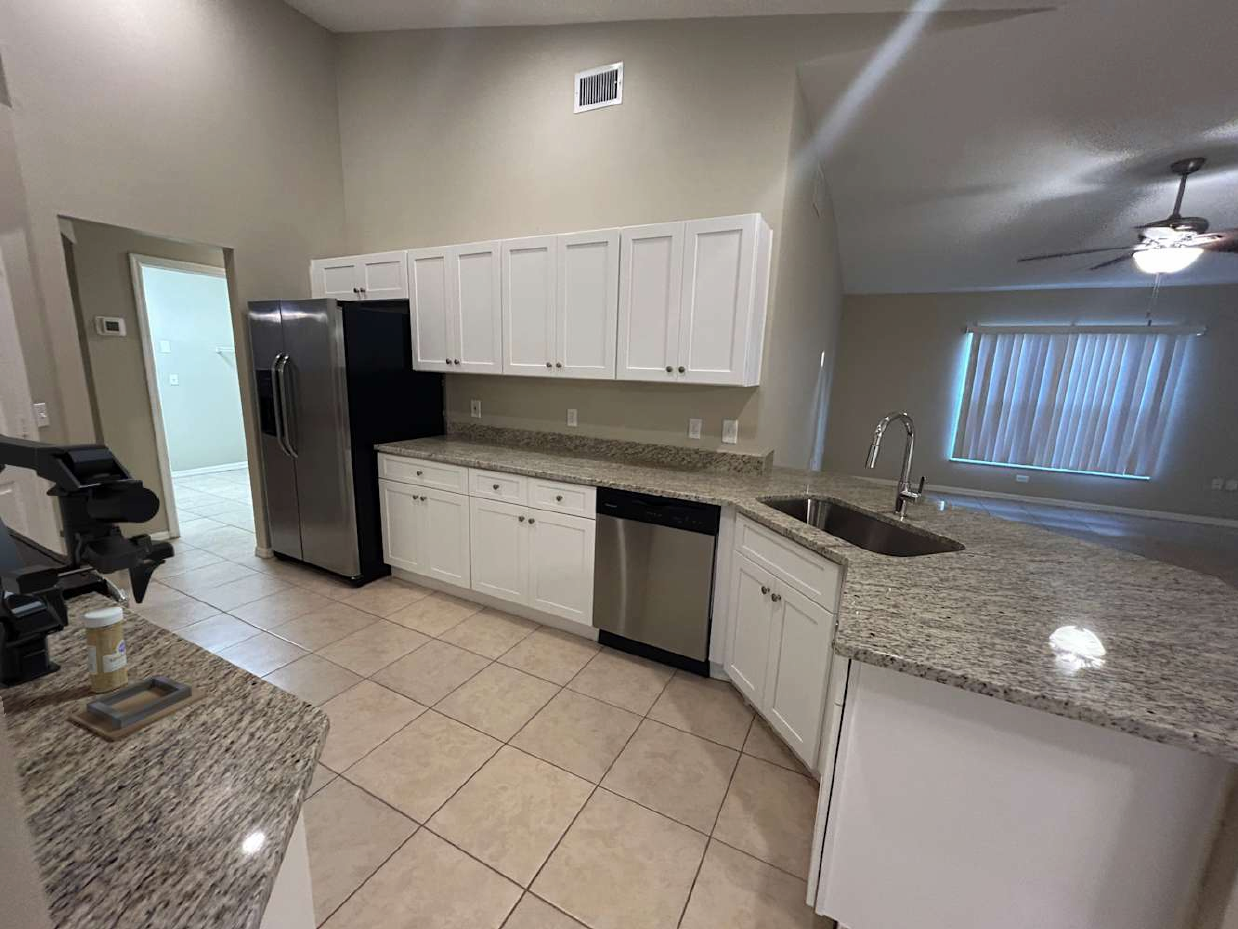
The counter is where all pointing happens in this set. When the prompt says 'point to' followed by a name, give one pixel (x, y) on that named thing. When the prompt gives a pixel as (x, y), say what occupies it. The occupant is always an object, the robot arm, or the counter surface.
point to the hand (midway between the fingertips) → (104, 614)
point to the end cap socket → (136, 706)
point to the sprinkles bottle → (106, 648)
